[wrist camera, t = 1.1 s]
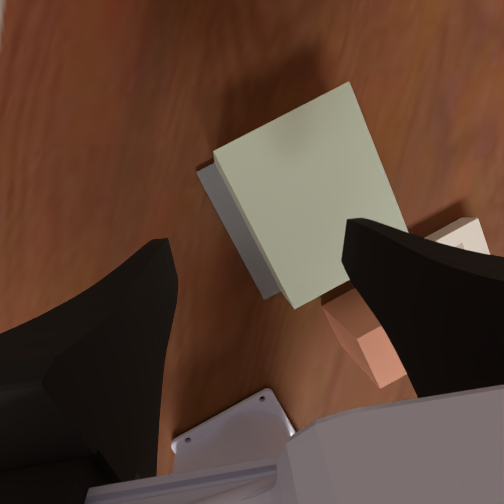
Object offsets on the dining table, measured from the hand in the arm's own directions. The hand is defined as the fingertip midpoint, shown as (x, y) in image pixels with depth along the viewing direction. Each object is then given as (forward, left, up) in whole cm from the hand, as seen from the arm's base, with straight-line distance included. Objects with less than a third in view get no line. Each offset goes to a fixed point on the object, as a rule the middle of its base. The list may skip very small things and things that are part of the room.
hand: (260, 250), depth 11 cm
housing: (+5, 0, -10) cm, 11 cm away
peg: (+5, -11, -10) cm, 16 cm away
